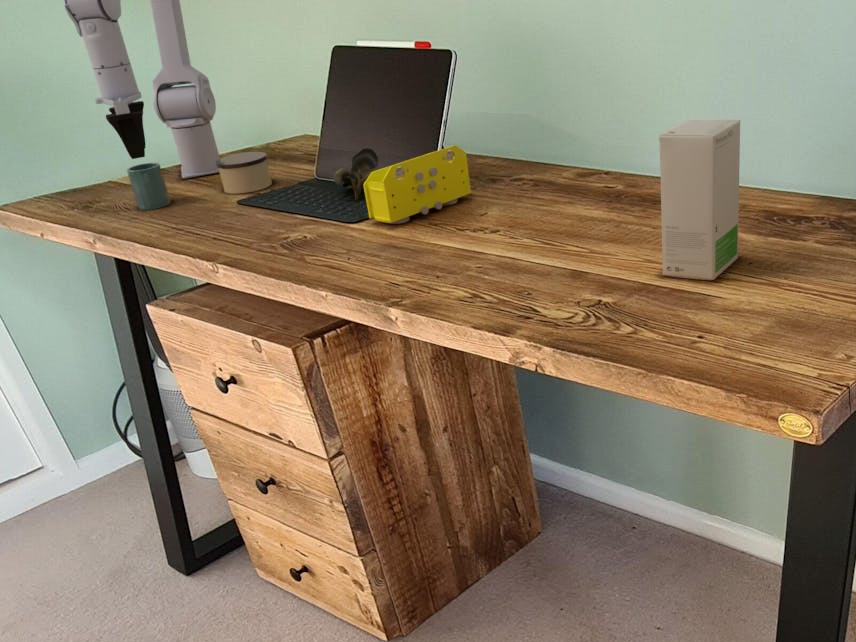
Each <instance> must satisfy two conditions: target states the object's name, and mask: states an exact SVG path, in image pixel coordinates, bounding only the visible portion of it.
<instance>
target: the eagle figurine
mask: <svg viewBox="0 0 856 642" xmlns="http://www.w3.org/2000/svg"><path fill="white" fill-rule="evenodd" d="M378 162H379V157H378V155H377V152H375V150H373V148H368V147H365V148H362V149H361V150H360V151H359V152H356V154H355V155H353V157H352V158H351V166H350V171H349V170H348V169H347V168H346V167H342V168H340V169H338V170H337V171H336V172H334V173H335V174H334V175H333V181H334V184H336V185H337V186H339V185H340V187H344V188H347V189H348V190H349V189H351V190H353V192H354V199H355V201H357V200H358V198H359V197H360V195H361V193H362V190H363V189H364V186H363V184H364V183H365V181H366V180H367V178H368V177H369V175H370V174H371V172H373V171H374V169H376V168H377V167H378V165H379V164H378Z"/></svg>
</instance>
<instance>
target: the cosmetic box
mask: <svg viewBox="0 0 856 642" xmlns="http://www.w3.org/2000/svg"><path fill="white" fill-rule="evenodd" d="M658 140H659V170H660V171H659V173H660V174H659V175H660V201H661V202H660V211H661V213H660V214H661V256H662V257H661V258H662V259H661V260H662V263H661V264H662V274H661V275H662V276H665V277H666V276H667V277H673V278H681V279H682V278H683V279H691V280H703V281H714V280H715V279H717V277H719V276H720V275H721V274H722V273H723V272H725V270H726V269H728V268H729V267H730V266H731V265H732V264H733V263H735V262H736V261H737V260H738V258H739V227H740V226H739V221H740V217H739V216H740V165H741V164H740V161H741V160H740V159H741V158H740V157H741V156H740V154H741V153H740V152H741V144H740V143H741V119H689V120H686V121H684V122H682V123H680V124H678V125H673V126H671V127H670V128H669V129H668V130H666V131H664V132H662V133H659V135H658Z"/></svg>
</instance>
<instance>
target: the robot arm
mask: <svg viewBox="0 0 856 642" xmlns="http://www.w3.org/2000/svg"><path fill="white" fill-rule="evenodd" d="M149 1H150V7H151V12H152V18H153V24H154V28H155V33H156V39H157V45H158V51H159V56H160V62H161V69H160V70H159V72H158V73H157V74H156V76H154V78H153V79H152V89H153V90H152V91H153V94H152V105H153V109H154V112H155V114H156V116H157V118H158V119H159V120H160V121H161V123H163V124H165V125H166V128H170V130H171V133H172V136H173V137H172V138H173V140H174V144H175V147H176V150H177V154H178V159H179V161H180V164H181V167H180V170H181V171H180V172H181V178H182V179H183V180H184V179H185V180H186V179H192V178H197V177H203V176H207V175H208V176H209V175H214V174H220V173H219V170H218V167H217V166H216V161H217V160H218V159H220V158H221V157H220V153H219V150H218V146H217V142H216V139H215V134H214V131H213V127H212V124H211V121H212V120H214V117H215V115H216V112H217V111H216V110H217V104H216V98H215V95H214V92H213V91H212V88H211V84H210V80H209V77H207V75H205V74H204V73H203V72H201V71H199V70H198V69H196V68H195V67H194V66H192V64H191V59H190V52H189V46H188V41H187V36H186V30H185V23H184V18H183V13H182V12H183V11H182V6H181V1H180V0H149ZM64 9H65V11H66V13H67V15H68V17H69V18H70V20H71V21H72V22H73V24H74V27H75V29H76V33H77V34H78V35H79V37H81V38H82V40H83V42H84V45H85V48H86V51H87V54H88V58H89V61H90V63H91V67H92V69H93V70H92V71H93V73H94V76H95V79H96V83H97V86H98V88H99V93H100V95H101V97H96V98H95V99H94V101H95V104H97V105H101V104H103V105H106V106H107V105H108V106H112V107H109V108H108V111H109V112H110V113H108V114H106V115H105V119H106V121H107V122H108V124H110V125H111V126H112V128H113V129H114V130H115V131H116V133H117V135H118V136H119V137H120V141H122V143H123V146H124V147H125V150H126V152H127V154H128V155H129V157H130V158H131V160H136V159H141V158H145V157H146V151H145V150H146V136H145V130H144V120H143V119H144V117H143V116H144V107H145V102H144V101H143V100H141V101H140V99H141V98H143V96H142V92H141V91H139V87H138V84H137V80H136V77H135V73H134V70H133V67H132V64H131V61H130V57H129V54H128V50H127V47H126V44H125V41H124V40H125V39H124V37H123V34H122V29H121V26H120V23H119V19H120V17H121V16H122V5H121V0H64Z"/></svg>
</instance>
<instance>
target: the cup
mask: <svg viewBox="0 0 856 642" xmlns="http://www.w3.org/2000/svg"><path fill="white" fill-rule="evenodd" d="M126 172H127V175H128V179H129V182H130V185H131V188H132V191H133V194H134V198H135V200H136V203H137V206H138V209H139V210H144V211H149V210H156V209H160V208H164V207H166V206H169V205H170V204H171V203H172V201H171V197H170V194H169V190H168V187H167V184H166V180H165V177H164V174H163V171H162V168H161V164H160V163H159V162H147V163H146V162H145V163H140V164H136V165H133V166H129V167H128V168H127V169H126Z"/></svg>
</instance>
